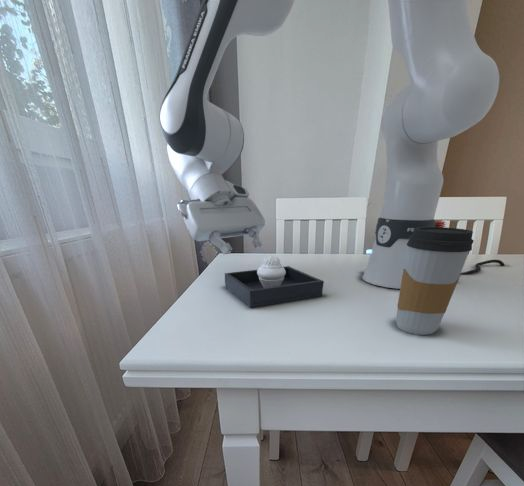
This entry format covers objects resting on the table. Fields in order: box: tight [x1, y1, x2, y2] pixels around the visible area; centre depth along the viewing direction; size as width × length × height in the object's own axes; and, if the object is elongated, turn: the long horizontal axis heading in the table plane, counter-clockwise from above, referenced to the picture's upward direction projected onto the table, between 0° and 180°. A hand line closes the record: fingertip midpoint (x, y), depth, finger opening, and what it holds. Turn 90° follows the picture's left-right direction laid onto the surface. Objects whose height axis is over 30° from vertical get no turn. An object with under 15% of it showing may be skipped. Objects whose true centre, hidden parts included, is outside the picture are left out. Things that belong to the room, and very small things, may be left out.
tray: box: [224, 265, 324, 308], centre depth 64 cm, size 17×15×3 cm
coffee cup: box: [395, 226, 475, 336], centre depth 45 cm, size 8×8×15 cm
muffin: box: [256, 255, 286, 288], centre depth 63 cm, size 6×6×7 cm
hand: (244, 249), depth 66 cm, fingers open, 8 cm apart
